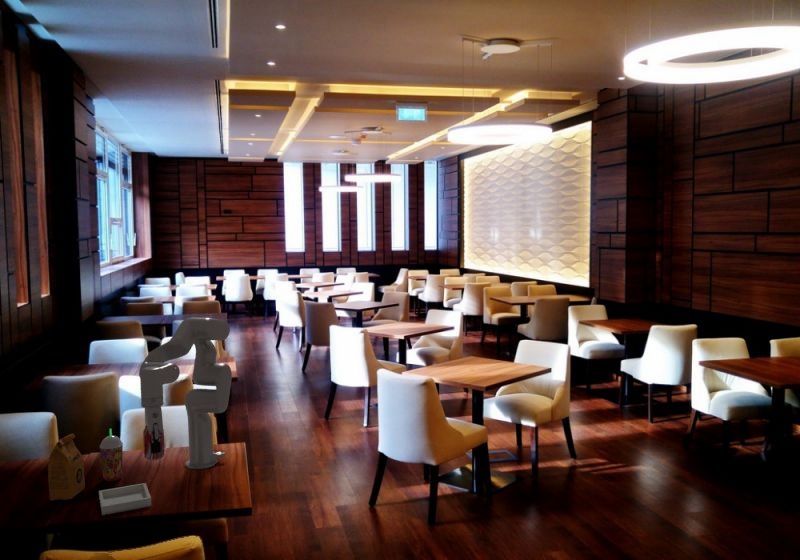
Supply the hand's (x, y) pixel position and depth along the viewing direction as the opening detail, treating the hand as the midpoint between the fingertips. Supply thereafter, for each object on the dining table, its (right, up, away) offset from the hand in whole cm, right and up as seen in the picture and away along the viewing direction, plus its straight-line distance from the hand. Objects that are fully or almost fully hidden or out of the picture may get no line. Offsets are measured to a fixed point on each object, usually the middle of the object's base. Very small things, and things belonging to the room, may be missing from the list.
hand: (154, 449), depth 248 cm
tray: (-10, -18, -3) cm, 21 cm away
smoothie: (-24, -17, +21) cm, 35 cm away
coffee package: (-33, -18, +4) cm, 38 cm away
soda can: (0, -3, 0) cm, 3 cm away
